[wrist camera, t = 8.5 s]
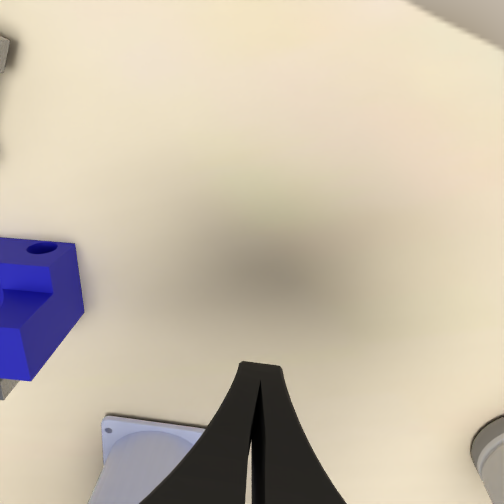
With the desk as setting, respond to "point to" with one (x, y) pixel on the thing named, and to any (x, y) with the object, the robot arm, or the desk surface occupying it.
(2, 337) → the cable clip
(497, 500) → the travel mug
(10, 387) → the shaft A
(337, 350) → the desk surface
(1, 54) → the shaft
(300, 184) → the desk surface
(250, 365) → the robot arm
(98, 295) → the desk surface
